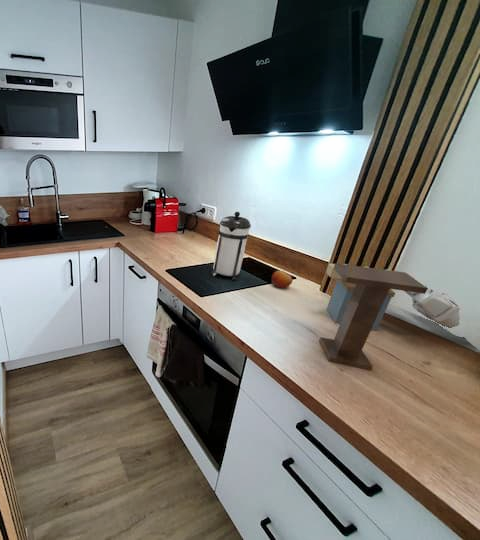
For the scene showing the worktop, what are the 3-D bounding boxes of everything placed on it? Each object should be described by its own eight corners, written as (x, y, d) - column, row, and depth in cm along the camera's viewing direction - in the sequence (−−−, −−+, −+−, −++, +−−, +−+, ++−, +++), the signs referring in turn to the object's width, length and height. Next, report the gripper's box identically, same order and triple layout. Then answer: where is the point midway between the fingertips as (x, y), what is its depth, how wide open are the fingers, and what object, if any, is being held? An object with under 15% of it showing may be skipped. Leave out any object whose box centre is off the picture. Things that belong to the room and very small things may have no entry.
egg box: (402, 282, 94) (408, 269, 93) (410, 288, 91) (416, 275, 89) (325, 272, 101) (330, 260, 99) (329, 277, 97) (334, 264, 95)
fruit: (263, 278, 129) (276, 265, 126) (277, 287, 130) (290, 274, 127) (269, 286, 122) (284, 272, 118) (283, 295, 123) (298, 282, 119)
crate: (364, 315, 105) (380, 279, 99) (377, 331, 95) (395, 293, 90) (325, 308, 108) (337, 274, 103) (333, 323, 99) (348, 286, 93)
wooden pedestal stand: (368, 351, 86) (405, 272, 75) (383, 373, 77) (428, 288, 67) (308, 338, 91) (335, 263, 80) (316, 358, 82) (347, 276, 72)
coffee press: (250, 280, 130) (266, 215, 118) (218, 282, 127) (230, 215, 115) (231, 265, 146) (243, 207, 134) (201, 267, 143) (211, 207, 131)
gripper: (423, 283, 99) (389, 259, 100) (464, 311, 82) (423, 283, 82) (405, 295, 102) (372, 272, 103) (441, 325, 85) (401, 297, 86)
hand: (395, 277), depth 93 cm, fingers closed on egg box, 4 cm apart
